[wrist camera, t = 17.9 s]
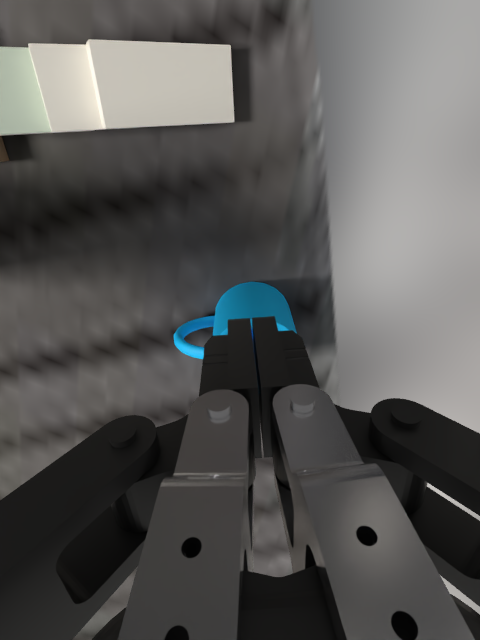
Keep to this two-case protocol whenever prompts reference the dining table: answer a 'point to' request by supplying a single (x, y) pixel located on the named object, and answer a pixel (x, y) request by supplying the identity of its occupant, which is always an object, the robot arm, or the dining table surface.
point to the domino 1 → (21, 94)
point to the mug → (238, 313)
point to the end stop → (3, 151)
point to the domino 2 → (66, 86)
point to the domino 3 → (161, 83)
